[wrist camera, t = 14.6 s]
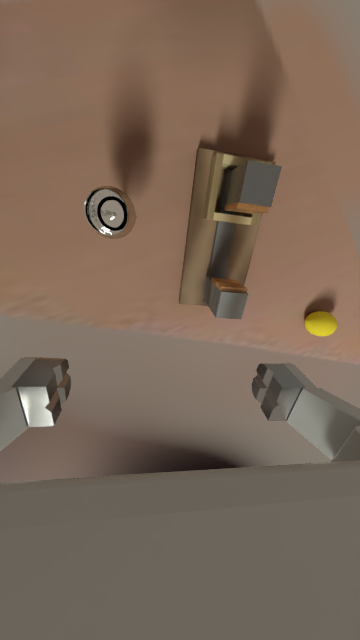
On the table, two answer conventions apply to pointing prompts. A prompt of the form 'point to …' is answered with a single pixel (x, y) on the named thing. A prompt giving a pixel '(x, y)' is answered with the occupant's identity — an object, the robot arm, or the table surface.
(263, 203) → the grey metal slab
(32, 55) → the table surface
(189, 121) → the table surface
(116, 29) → the table surface
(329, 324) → the lemon
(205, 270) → the rail
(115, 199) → the wineglass
